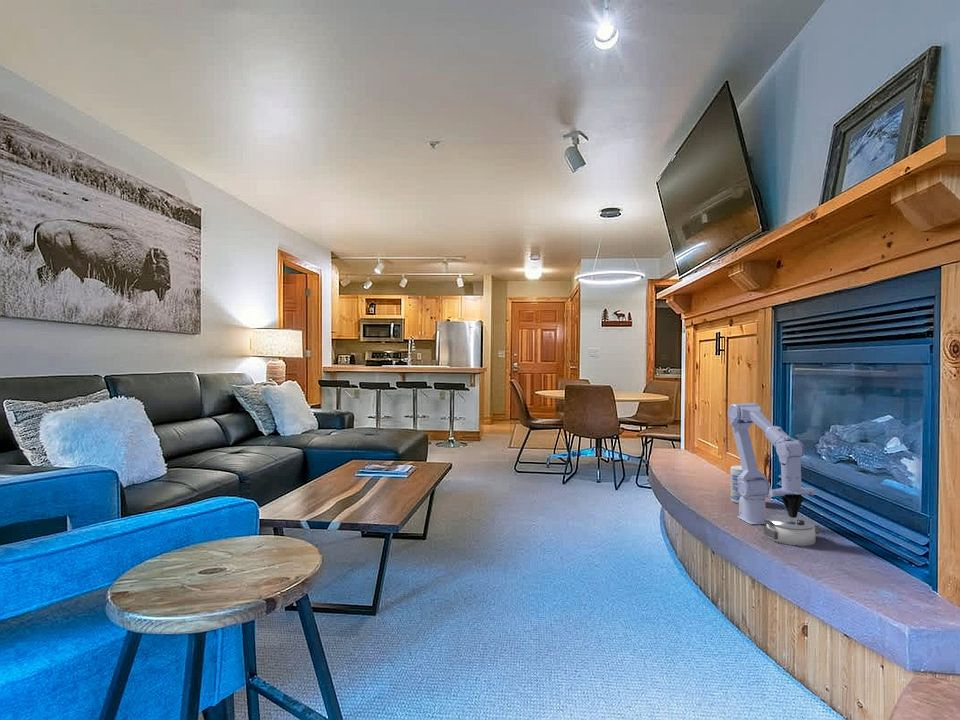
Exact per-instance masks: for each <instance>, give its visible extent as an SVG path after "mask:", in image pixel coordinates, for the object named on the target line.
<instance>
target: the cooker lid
mask: <svg viewBox="0 0 960 720" xmlns="http://www.w3.org/2000/svg"><path fill="white" fill-rule="evenodd" d="M765 523H766V524H765V525H767V524H768V525H774V526H777V527H781V528H786V529H794V530H808V529H813V528H814V527H815V524H816V522H814V521H813V520H811V519H809V518H806V517H803V516H799V515H797V518H792V517H790V516H789V515H788V514H771V515H770V514H769V515H768V516H767V515H766V520H765Z"/></svg>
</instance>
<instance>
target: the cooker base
mask: <svg viewBox="0 0 960 720" xmlns="http://www.w3.org/2000/svg"><path fill="white" fill-rule="evenodd" d="M820 531H821V530H820V525H819V524H818V523H815V527H814V528H813V529H808V530H794V529H786V528H781V527H777V526H774V525H768V524H766V526H763V534H764V535H766V537H767V538H768V539H769V538H770V539H769V540H771V539H772V540H771V541H773V540H774V541H773V542H775V541H776V542H775V543H778V542H779V543H778V544H783V545H787V544H789V545H788V546H795V545H798V546H799V547H806V546H812V545H815V544H816V541H817V539H816V535H820V533H821V532H820Z"/></svg>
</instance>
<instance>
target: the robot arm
mask: <svg viewBox="0 0 960 720" xmlns="http://www.w3.org/2000/svg"><path fill="white" fill-rule="evenodd" d="M727 416H728V420H729V424H730V426H731V428H732V433H733V437H734V441H735V446H736V450H737V453H738V458H739V462H740V466H741V467H742V471H743V472H742V473H741V474H740V475H739V476H738V477H737V480H738V491H739V493H740V495H741V497H740V499H739V504H738V514H739V515H737V516H736V517H737V518H738V519H740V520H742V521H743V522H745V523H747V524H748V525H767V524H766V523H765V520H766V517H767V513H766V511H767V510H766V509H767V508H766V499H767V498H768V496H770V497H771V498H776V497H780V499H781V500H782V502H783V503H784V506H785V507H786V510H787V515H789V516H790V517H792V518H797V516H798V512H799V509H800V508H801V505H802V504H803V502H804V501H805V497H804V496H805V495H806V496H808V495H810V496H815V492H816V491H815V489H814V488H812V487H802V468H801V467H802V465H801V464H802V462H801V458H802V457H803V456H804V455H805V447H804V444H803V442H801V440H799V439H794V438H792V437H790V435H789V434H787V433H786V432H785V431H784V430H783V428H782V427H781V426H778V425H773V424H772V423H771V422H770V420H769V419H768V418H767V417H766V416H765V415H764V413H763V411H762V407H761V406H759V404H758V403H756V402H750V403H749V402H748V403H731V404H730V405H729V408H728V409H727ZM754 424H755V425H756V426H757V427H758V428H759V429H761V430H762V431H763V432H764V437H765V438H766V439H767V441H769V443H770V444H772V445H773V446H774V448H775V451H776V455H777V456H778V462H779V463H780V473H781V475H780V476H781V487H779V488H774V489H771V485H770V483H769V481H768V479H767V476H766V474H765V473H763V472H762V471H760V470H759V468H758V464H757V459H756V457H755V453H754V449H753V448H754V447H753V444H752V439H751V436H750V432H749V428H750V427H751V426H753V425H754ZM752 478H754V479H755V480H747V479H752Z"/></svg>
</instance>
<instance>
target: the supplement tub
mask: <svg viewBox="0 0 960 720" xmlns="http://www.w3.org/2000/svg"><path fill="white" fill-rule="evenodd" d="M742 472H743V471H742V467H741V465H732V466H731V467H730V500H731V502H733V503H735V504H738V505H739V499H740V497H741V495H740V493H739V491H738V480H737V477H738V476H739V475H740V474H741V473H742ZM747 480H755V479H754V478H752V479H747Z"/></svg>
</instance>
